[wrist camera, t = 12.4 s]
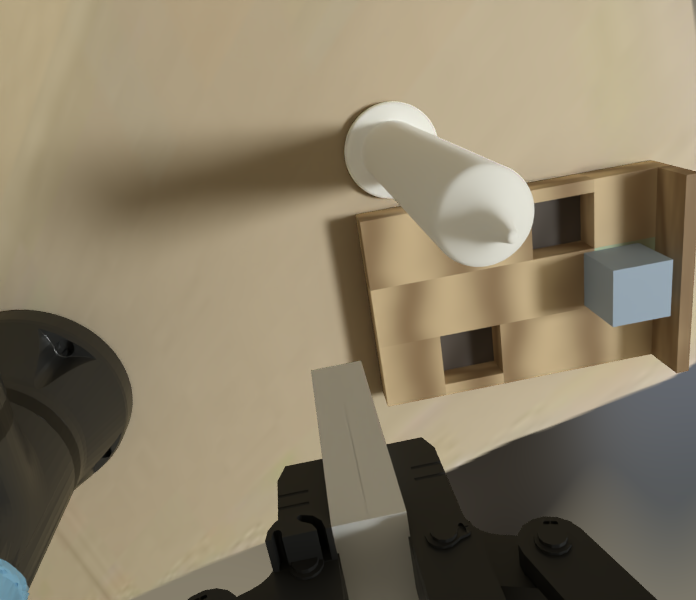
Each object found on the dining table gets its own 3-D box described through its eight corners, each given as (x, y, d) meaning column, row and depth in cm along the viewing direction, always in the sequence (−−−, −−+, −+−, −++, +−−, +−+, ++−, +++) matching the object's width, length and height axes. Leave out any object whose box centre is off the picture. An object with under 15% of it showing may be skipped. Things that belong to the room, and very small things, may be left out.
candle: (361, 210, 47) (449, 350, 24) (330, 121, 45) (396, 183, 22) (447, 177, 47) (618, 287, 24) (421, 86, 45) (585, 111, 21)
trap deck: (383, 391, 53) (396, 429, 48) (355, 214, 47) (366, 234, 42) (646, 339, 55) (688, 370, 49) (651, 160, 49) (700, 172, 43)
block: (584, 305, 50) (612, 327, 46) (583, 252, 48) (613, 270, 44) (637, 294, 50) (670, 316, 46) (638, 242, 48) (673, 259, 44)
